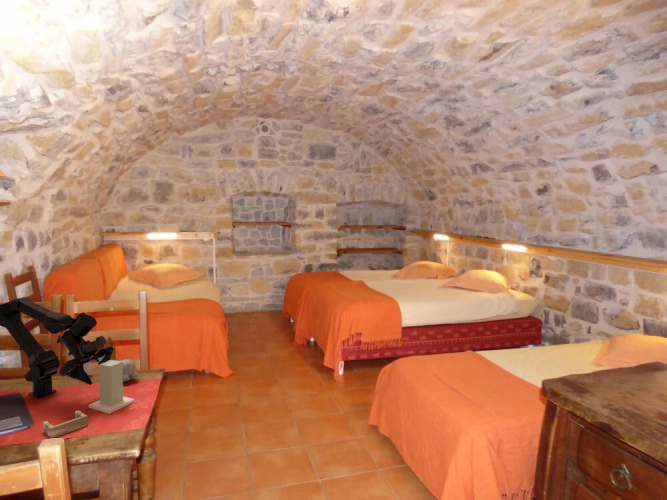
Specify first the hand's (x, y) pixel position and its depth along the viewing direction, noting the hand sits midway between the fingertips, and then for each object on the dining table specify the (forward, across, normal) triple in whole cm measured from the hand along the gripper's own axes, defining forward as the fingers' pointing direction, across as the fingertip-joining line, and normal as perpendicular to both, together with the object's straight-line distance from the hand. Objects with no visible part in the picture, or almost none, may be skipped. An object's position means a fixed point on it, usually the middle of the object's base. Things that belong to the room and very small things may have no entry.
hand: (102, 378), depth 145 cm
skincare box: (-13, +18, +26) cm, 34 cm away
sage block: (+8, 0, +3) cm, 9 cm away
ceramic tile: (+9, 0, +3) cm, 10 cm away
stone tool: (-8, +25, +21) cm, 34 cm away
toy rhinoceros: (+1, +19, +12) cm, 23 cm away
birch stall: (+8, -17, +4) cm, 20 cm away
